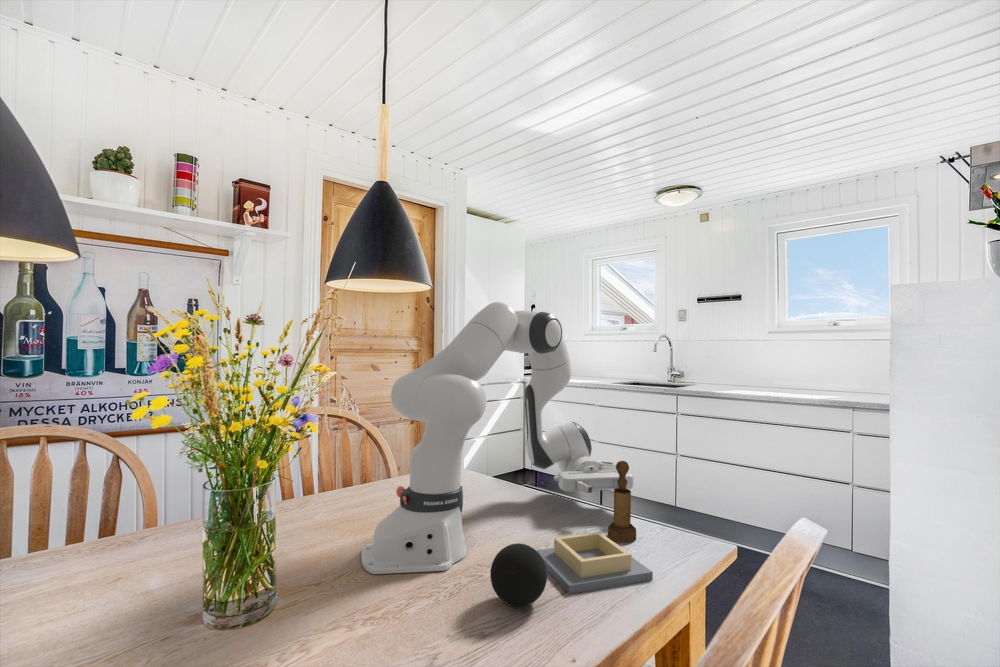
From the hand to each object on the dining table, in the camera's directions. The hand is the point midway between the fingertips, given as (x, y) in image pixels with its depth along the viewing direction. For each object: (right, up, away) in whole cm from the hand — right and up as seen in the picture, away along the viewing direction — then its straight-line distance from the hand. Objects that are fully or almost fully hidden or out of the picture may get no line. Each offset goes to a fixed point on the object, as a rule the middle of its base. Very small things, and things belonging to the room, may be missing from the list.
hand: (606, 489), depth 125 cm
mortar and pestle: (+2, -9, -9) cm, 13 cm away
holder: (-9, -8, -25) cm, 28 cm away
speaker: (-24, -8, -39) cm, 46 cm away
